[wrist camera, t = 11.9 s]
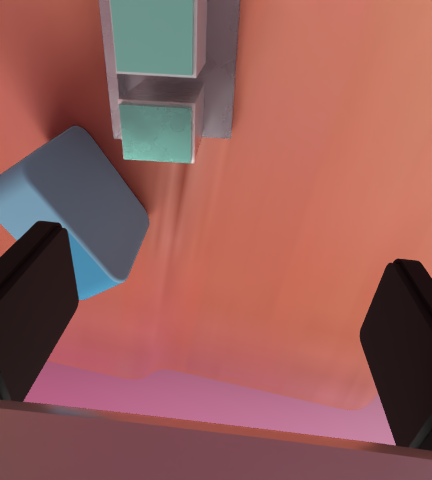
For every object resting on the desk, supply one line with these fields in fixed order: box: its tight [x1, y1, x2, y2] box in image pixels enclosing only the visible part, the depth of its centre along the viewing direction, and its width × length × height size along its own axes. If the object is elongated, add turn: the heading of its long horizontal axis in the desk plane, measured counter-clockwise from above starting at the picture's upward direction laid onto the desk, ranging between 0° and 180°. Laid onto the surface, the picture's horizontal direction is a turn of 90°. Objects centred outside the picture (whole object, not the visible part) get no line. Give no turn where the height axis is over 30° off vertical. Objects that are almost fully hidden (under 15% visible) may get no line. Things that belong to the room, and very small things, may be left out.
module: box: [109, 0, 207, 78], centre depth 24 cm, size 5×8×8 cm, turn 177°
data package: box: [0, 126, 149, 300], centre depth 32 cm, size 12×4×12 cm, turn 30°
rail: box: [99, 0, 240, 163], centre depth 24 cm, size 10×20×11 cm, turn 178°
